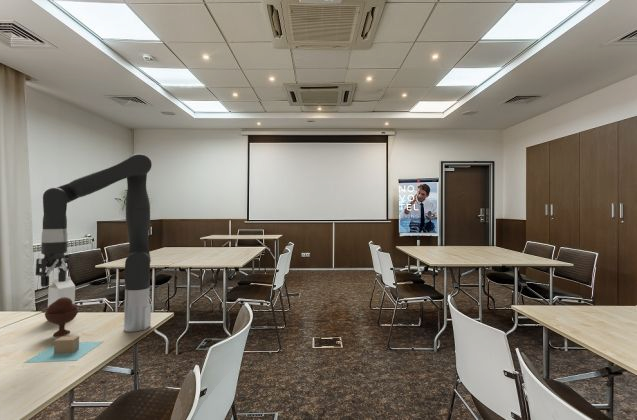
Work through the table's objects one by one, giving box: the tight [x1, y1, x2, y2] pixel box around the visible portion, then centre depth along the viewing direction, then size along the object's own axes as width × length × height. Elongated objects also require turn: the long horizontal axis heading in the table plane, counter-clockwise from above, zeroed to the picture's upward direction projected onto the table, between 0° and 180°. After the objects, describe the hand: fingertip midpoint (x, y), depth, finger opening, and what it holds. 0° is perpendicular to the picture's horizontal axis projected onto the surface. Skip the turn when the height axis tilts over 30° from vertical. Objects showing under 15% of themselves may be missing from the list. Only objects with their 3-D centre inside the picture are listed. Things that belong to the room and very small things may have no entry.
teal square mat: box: [23, 335, 104, 364], centre depth 111 cm, size 16×16×5 cm
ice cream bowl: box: [44, 297, 80, 337], centre depth 128 cm, size 11×11×15 cm
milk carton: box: [47, 276, 76, 308], centre depth 146 cm, size 7×7×19 cm
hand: (53, 283), depth 118 cm, fingers open, 8 cm apart
